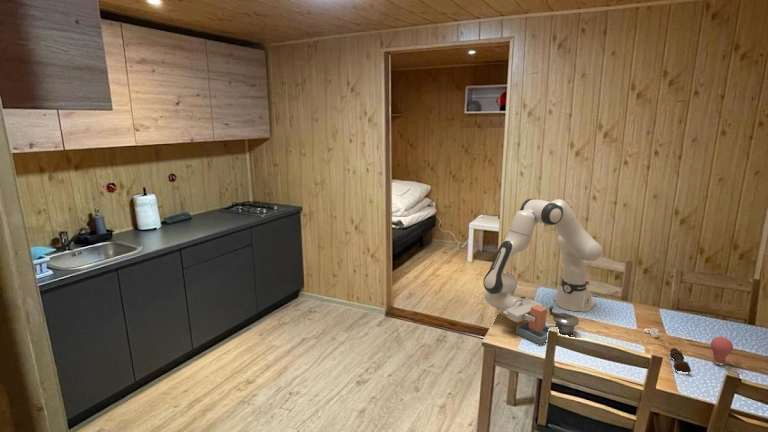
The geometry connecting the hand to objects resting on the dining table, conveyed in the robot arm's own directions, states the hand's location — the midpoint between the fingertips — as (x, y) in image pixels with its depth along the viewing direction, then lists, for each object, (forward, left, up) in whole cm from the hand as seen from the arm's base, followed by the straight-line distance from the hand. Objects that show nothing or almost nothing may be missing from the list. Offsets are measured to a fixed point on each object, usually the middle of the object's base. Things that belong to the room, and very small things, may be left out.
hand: (539, 317), depth 187 cm
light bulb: (-43, +56, -10) cm, 71 cm away
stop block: (0, -1, -5) cm, 6 cm away
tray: (0, -1, -9) cm, 10 cm away
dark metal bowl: (-14, +4, -9) cm, 17 cm away
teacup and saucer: (-49, +31, -10) cm, 59 cm away
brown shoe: (-29, +46, -10) cm, 55 cm away
